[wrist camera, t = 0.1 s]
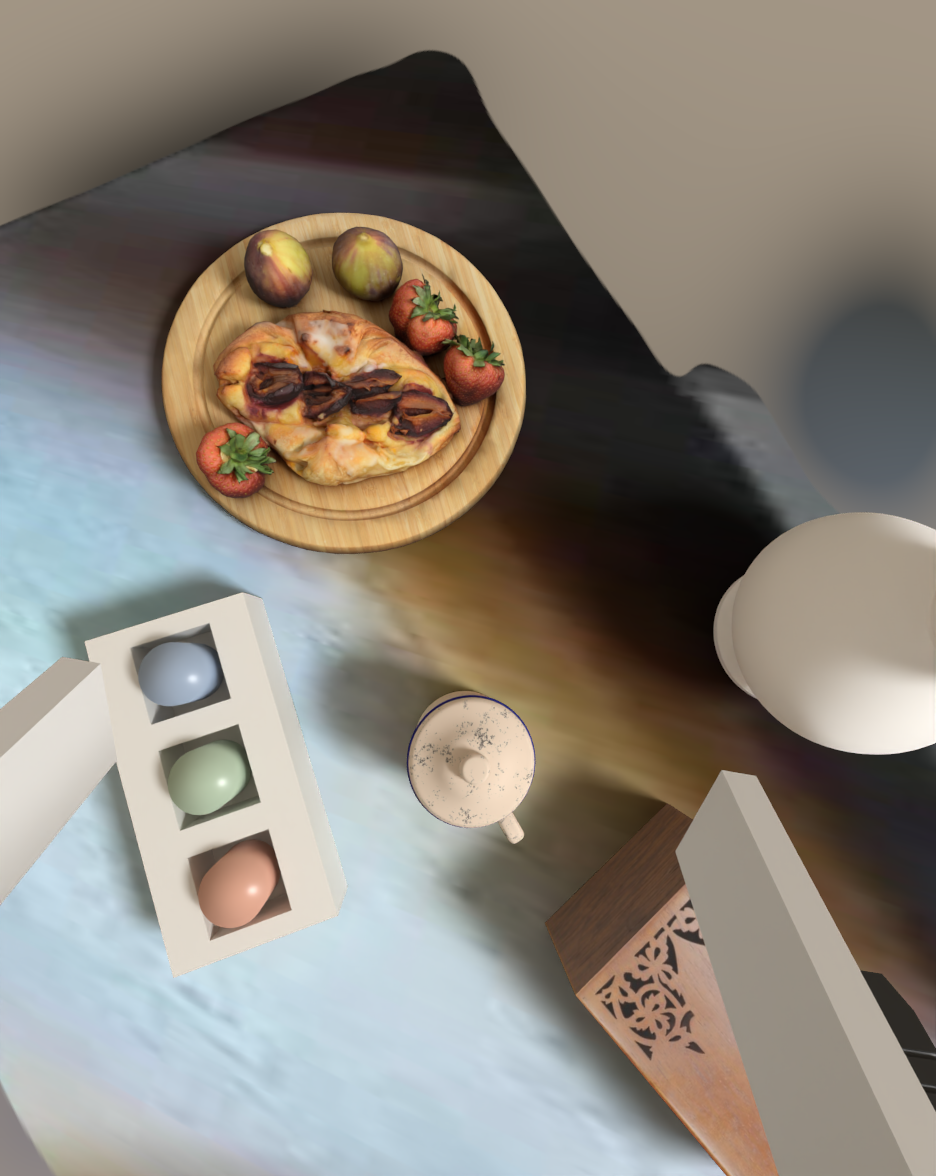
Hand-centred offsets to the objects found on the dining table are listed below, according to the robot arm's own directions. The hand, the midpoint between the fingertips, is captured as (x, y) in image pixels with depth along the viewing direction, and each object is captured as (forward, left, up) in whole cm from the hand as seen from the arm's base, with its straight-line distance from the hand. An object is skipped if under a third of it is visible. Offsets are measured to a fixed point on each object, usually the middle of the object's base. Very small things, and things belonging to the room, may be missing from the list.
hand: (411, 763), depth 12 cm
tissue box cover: (-31, -15, -36) cm, 50 cm away
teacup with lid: (-7, -2, -36) cm, 37 cm away
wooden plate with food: (+28, -2, -37) cm, 46 cm away
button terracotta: (-9, +17, -33) cm, 39 cm away
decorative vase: (-6, -32, -36) cm, 49 cm away
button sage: (-1, +17, -33) cm, 38 cm away
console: (-1, +17, -36) cm, 40 cm away
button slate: (+7, +17, -33) cm, 38 cm away
